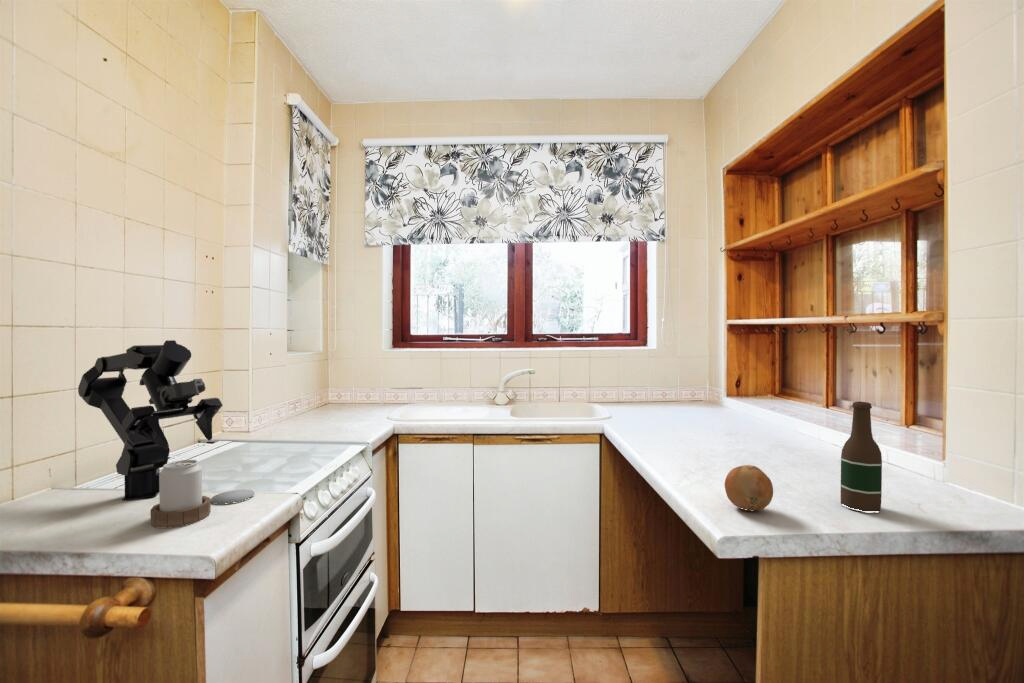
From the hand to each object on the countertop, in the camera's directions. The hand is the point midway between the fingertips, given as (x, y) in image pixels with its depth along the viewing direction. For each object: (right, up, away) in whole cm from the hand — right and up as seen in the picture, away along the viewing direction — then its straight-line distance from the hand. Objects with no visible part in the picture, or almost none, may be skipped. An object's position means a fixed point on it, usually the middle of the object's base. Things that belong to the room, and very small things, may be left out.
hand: (189, 443), depth 105 cm
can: (+2, -15, -5) cm, 16 cm away
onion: (+126, -15, -1) cm, 127 cm away
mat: (+6, -15, +7) cm, 17 cm away
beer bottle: (+152, -15, 0) cm, 153 cm away
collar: (+2, -15, -5) cm, 16 cm away
